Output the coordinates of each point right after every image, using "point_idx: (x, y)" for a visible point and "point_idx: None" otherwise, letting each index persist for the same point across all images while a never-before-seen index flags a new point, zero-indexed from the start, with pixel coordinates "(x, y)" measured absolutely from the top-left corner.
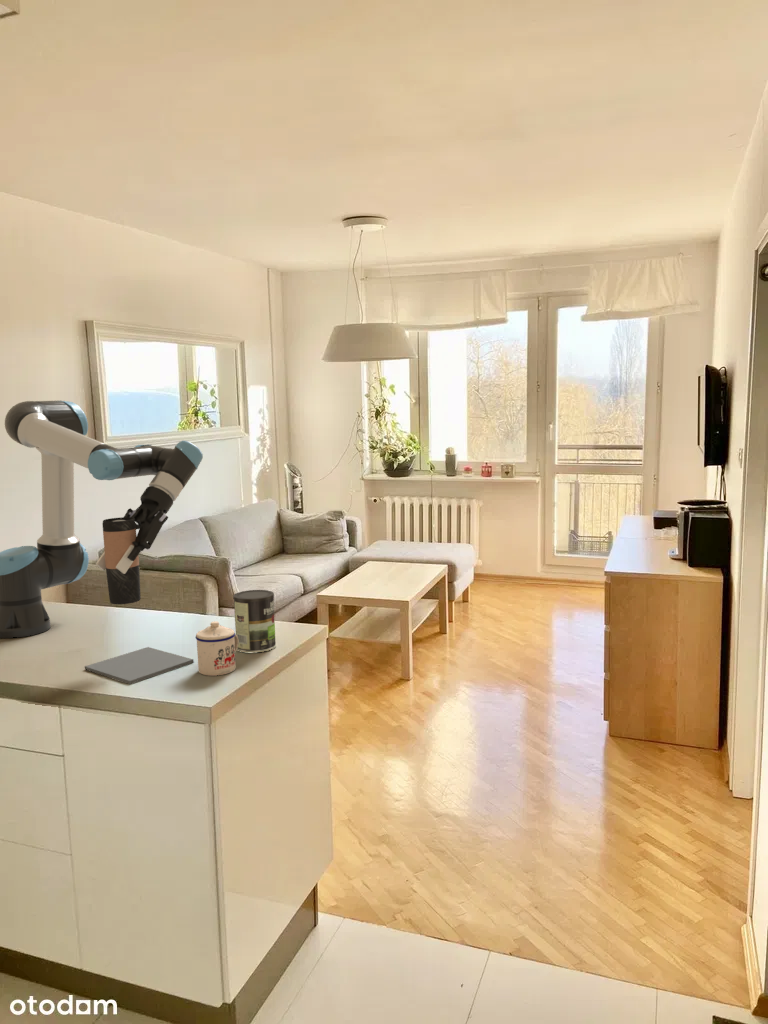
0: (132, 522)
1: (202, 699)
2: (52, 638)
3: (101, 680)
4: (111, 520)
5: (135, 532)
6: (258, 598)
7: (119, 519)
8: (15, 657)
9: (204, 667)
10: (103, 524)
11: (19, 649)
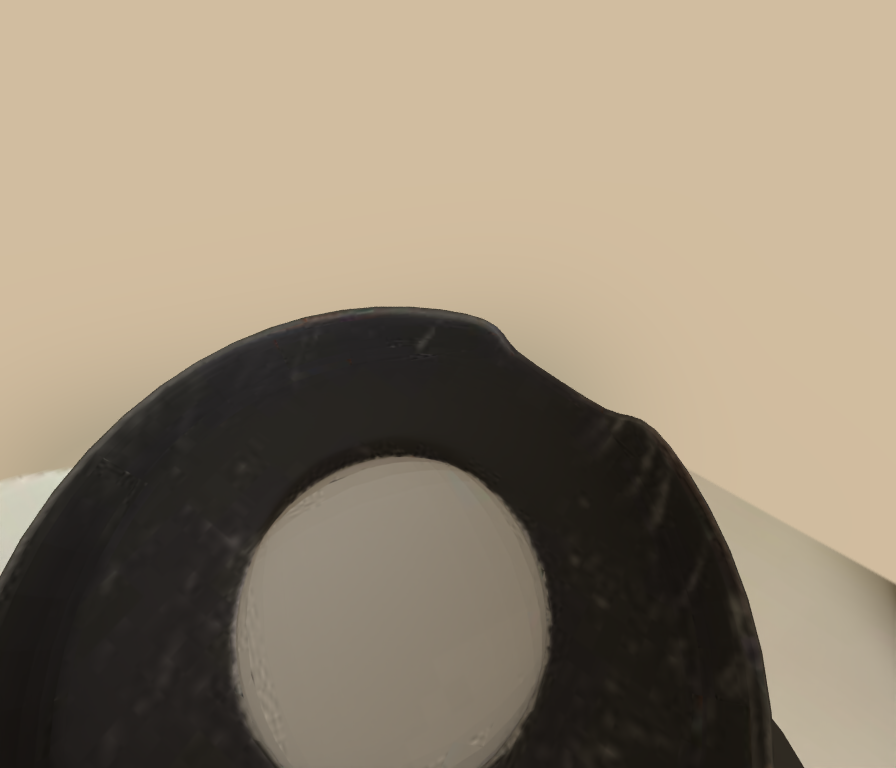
0: (5, 733)
1: (16, 510)
2: (843, 682)
3: None
4: (714, 662)
5: None
6: None
7: None
8: (711, 497)
9: None
10: (482, 348)
11: (780, 547)
